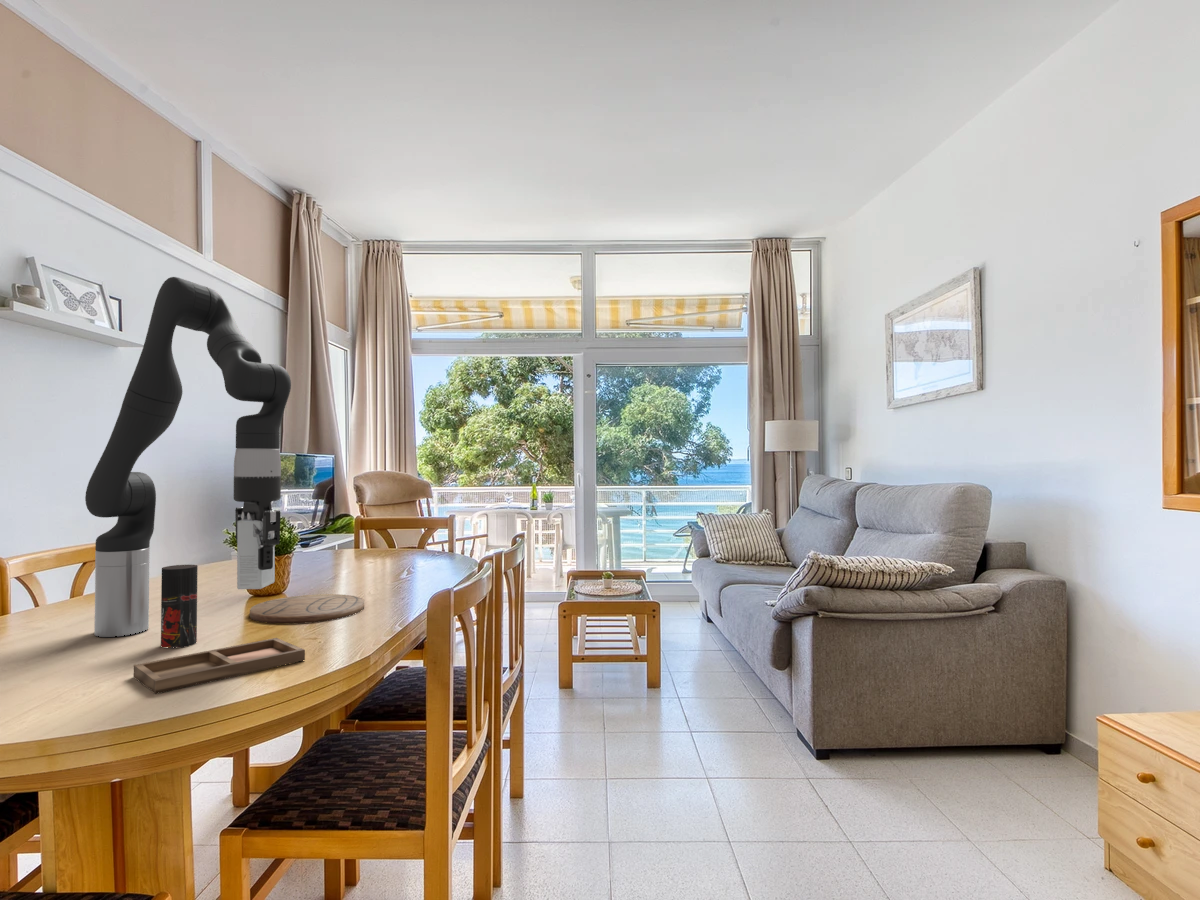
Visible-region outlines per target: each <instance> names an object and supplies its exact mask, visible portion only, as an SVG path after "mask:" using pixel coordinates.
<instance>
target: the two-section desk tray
mask: <svg viewBox="0 0 1200 900" xmlns="http://www.w3.org/2000/svg"><path fill="white" fill-rule="evenodd" d="M303 660H306V650H305V649H304V648H302V647H299V646H297V645H294V644H292V643H290V642H288V641H285V640H283V639H280V638H278V637H274V638H268V639H263V640H259V641H252V642H248V643H242V644H235V645H233V646H225V647H221V648H216V649H210V650H205V651H200V652H194V653H190V654H183V655H179V656H173V657H169V658H163V659H158V660H152V661H145V662H143V663H137V664H133V678H134V677H135V678H136V679H135V678H134V679H135V680H137V681H138V680H139V681H140V682H139V681H138V682H139V683H141V685H143V684H144V685H145V688H146V689H148V690H150V691H151V692H152V693H153V694H155V695H158V694H162V693H166V691H167V692H170V691H171V692H172V691H175V690H176V691H177V690H179V689H180V690H181V689H184V688H189V687H194V686H198V685H203V684H206V683H207V682H208V683H211V682H210V681H212V682H215V680H217V681H220V679H221V680H224V679H225V678H226V679H230V678H234V676H235V677H239V676H244V675H247V673H248V674H251V673H252V672H253V673H257V672H261V670H262V671H266V670H269V669H268V668H271V669H274V668H273V667H275V668H278V667H277V666H280V665H284V666H286V665H285V664H289V663H293V664H295V663H294V662H298V661H302V662H304V661H303ZM298 663H299V662H298ZM289 665H290V664H289ZM280 667H281V666H280ZM265 669H266V670H265ZM256 671H257V672H256ZM243 674H244V675H243ZM238 675H239V676H238ZM229 677H230V678H229ZM226 679H225V680H226ZM193 685H194V686H193ZM161 692H162V693H161ZM157 693H158V694H157Z"/></svg>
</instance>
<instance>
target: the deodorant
mask: <svg viewBox="0 0 1200 900" xmlns="http://www.w3.org/2000/svg"><path fill="white" fill-rule="evenodd" d="M198 566H199V565H197V564H176V565H167V566H164V567H161V587H160V588H161V591H160V592H161V595H160V596H161V597H160V598H161V599H160V602H161V603H160V610H161V611H160V647H161V646H162V647H168V648H167V649H177V648H176V647H181V648H185V647H184V646H187V647H190V646H189V645H191V646H193V645H195V644H197V643H196V642H198V638H197V636H198V633H197V632H198V628H197V627H198ZM162 647H161V648H162ZM173 647H174V648H173Z"/></svg>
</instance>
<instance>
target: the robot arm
mask: <svg viewBox="0 0 1200 900" xmlns="http://www.w3.org/2000/svg"><path fill="white" fill-rule="evenodd" d="M176 327H181V328H185V329H188V330H192V331H196V332H202V333H205V334H206V335H208V336H207V339H206V348H207V352H208V354H209V356H210V357H211V359H212V360H213V362H214V363H215V364H216V365H217V366H218V368H219V369H220V370H221V373H222V377H223V381H224V382H223V383H224V388H225V391H226V393H227V394H228V395H229V397H231V398H233V399H235V400H237V401H241V402H252V403H262V406H261V408H260V410H259V411H258V413H255V414H248V415H243V416H241V417H239V418H237V420H236V423H235V451H234V452H235V453H234V457H233V461H234V462H233V501H235V502H238V503H243V506H240V507H239V506H237V507H235V510H234V511H235V520H234V521H235V536H234V537H235V540H236V541H237V521H240V520H244V519H248V520H251V521H254V520H258V521H263V530H261V531H260V530H258V528H257V527H256V526H255V525H254V524H253V537H257V543H258V547H259V549H258V568H259V569H260V570H267V569H272V567H273V547H276V545H279V544H280V543H281V541H280V539H281V511H280V509H277V510H273V508H272V502H277V501H279V500H280V499H281V498H282V497H281V496H282V493H281V492H282V491H281V489H282V486H281V485H282V483H281V482H282V481H281V479H282V462H281V461H282V460H281V453H280V451H281V450H280V449H281V448H280V445H281V444H280V442H281V437H280V436H281V435H280V433H281V432H280V431H281V429H280V428H281V423H282V419H283V416H284V414H285V413H284V412H285V409H286V406H287V402H288V400H289V397H290V394H291V393H290V392H291V389H292V380H291V377H290V375H289V372H288V371H287V369H286V368H284V367H283V366H281V365H278V364H272V363H263V362H262V357H261V355H260V353H259V351H258V350H257V349H256V348H255V347H254V346H253V344H252V343H251V342H250V340H248V339H247V337H246V336H245V335H244V334H243V333H242V332H241V330H240V329H239V326H238V325H237V323H236V321H235V318H234V317H233V315H232V312H231V311H230V308H229V306H228V304H227V302H226V301H225V299H224V298H223V296H222V295H221V294H220V293H219V292H218V291H216V290H215V289H212V288H211V287H208V286H205V285H201V284H199V283H196V282H192V281H189V280H187V279H184V278H180V277H177V276H171V277H168V278H166V280H164V281H163V283H162V285H161V286H160V288H159V290H158V293H157V296H156V298H155V301H154V305H153V309H152V312H151V315H150V321H149V324H148V328H147V333H146V336H145V339H144V343H143V347H142V350H141V353H140V356H139V357H138V358H139V359H138V360H137V363H136V366H135V369H134V372H133V374H132V377H131V379H130V382H129V384H128V385H127V389H126V393H125V395H124V397H123V400H122V404H121V407H120V410H119V413H118V416H117V419H116V422H115V424H114V427H113V428H112V432H111V434H110V435H109V436H110V437H109V439H108V441H107V444H106V445H105V448H104V450H103V452H102V454H101V456H100V458H99V460H98V462H97V464H96V466H95V468H94V470H93V471H92V474H91V477H90V478H89V480H88V483H87V486H86V489H85V497H84V498H85V505H86V508H87V510H88V512H89V513H90V514H91V515H92V516H94V517H98V518H117V521H116V523H115V525H114V526H113V527H112V528H111V529H109V530H108V531H106V532H104V533H102V534H100V535H99V536H97V537H96V539H95V545H94V546H95V549H94V550H95V551H94V553H95V555H94V556H95V558H94V560H95V561H94V563H95V564H94V566H95V567H94V568H95V569H94V573H95V575H94V576H95V577H94V633H93V634H94V636H95V637H98V636H99V637H98V638H115V636H117V637H124V635H125V636H130V634H131V635H136V634H139V632H140V633H142V631H143V632H146V631H148V630H149V629H148V628H149V625H150V624H149V622H150V620H149V619H150V618H149V617H150V614H149V613H150V611H149V610H150V552H151V551H150V549H151V547H150V543H151V538H152V536H153V534H154V531H155V519H156V518H155V517H156V502H157V493H156V486H155V483H154V481H153V479H152V478H151V476H149V475H148V474H147V473H145V472H141V471H140V472H139V471H132V470H133V468H134V466H135V465H136V462H137V461H138V459H139V458H140V457H141V455H142V454H143V453H144V452H145V450H147V449H148V448H149V447H150V446H151V445H152V444H153V443H155V441H156V440H157V439H159V438H160V436H162V435H163V434H164V433H165V432H166V430H168V428H169V427H170V426H171V424H172V423H173V421H174V419H175V417H176V414H177V411H178V409H179V406H180V403H181V400H182V398H183V385H182V384H183V383H182V380H181V377H180V374H179V372H178V368H177V366H176V365H177V364H176V362H175V359H174V356H173V355H174V354H173V348H172V347H173V346H172V345H173V338H174V334H175V330H176ZM273 534H274V535H273ZM262 536H263V539H262ZM147 629H148V630H147ZM145 630H146V631H145ZM135 633H136V634H135Z"/></svg>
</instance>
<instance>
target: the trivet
mask: <svg viewBox="0 0 1200 900" xmlns="http://www.w3.org/2000/svg"><path fill="white" fill-rule="evenodd" d="M361 610H362V611H364V610H365V599H364V598H362V597H361V596H356V595H349V594H338V593H337V594H336V593H328V594H327V593H323V594H322V593H320V594H319V593H318V594H306V595H305V594H304V595H297V596H296V595H294V596H288V597H287V596H286V597H281V598H274V599H270V600H266V601H262V602H259V603H257V604H255V605H253V606H251V607H250V609H249V618H250V619H251V620H253V621H255V622H257V621H259V623H264V622H267V623H266V624H274V623H298V624H306V623H305V622H312V623H319V622H318V621H320V622H326V621H327V620H328V621H331V620H332V619H333V620H338V619H337V618H339V619H343V618H347V617H350V616H349V615H351V616H354V615H356V614H359V613H360V611H361ZM362 611H361V612H362ZM358 612H359V613H358ZM355 613H356V614H355ZM353 614H354V615H353ZM346 616H347V617H346ZM342 617H343V618H342Z"/></svg>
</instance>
